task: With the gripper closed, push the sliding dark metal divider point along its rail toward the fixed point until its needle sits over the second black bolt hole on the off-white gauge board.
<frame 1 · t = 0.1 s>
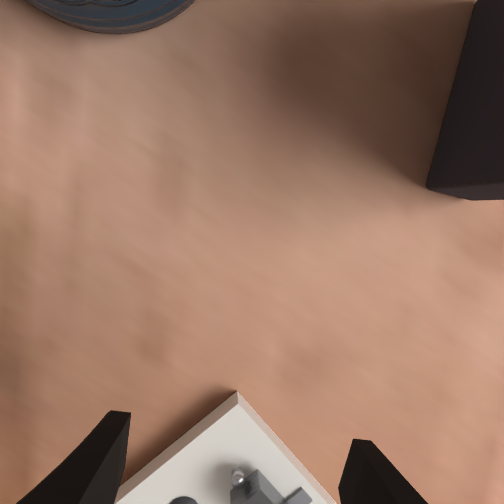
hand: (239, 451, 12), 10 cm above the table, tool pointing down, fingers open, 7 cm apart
calculator: (470, 104, 22), on the table
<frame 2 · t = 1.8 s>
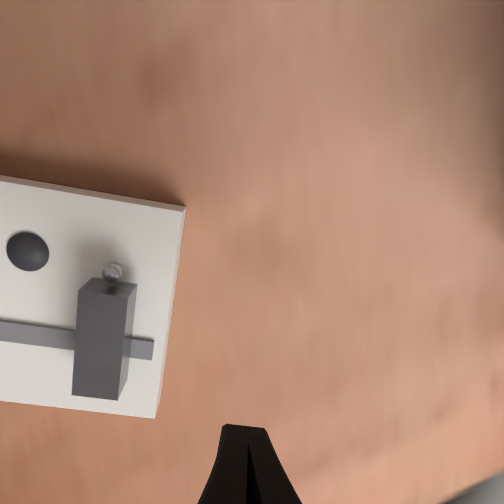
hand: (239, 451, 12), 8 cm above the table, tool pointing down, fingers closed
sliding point: (105, 329, 17), point 3 cm above the table, slide at 4.0 cm
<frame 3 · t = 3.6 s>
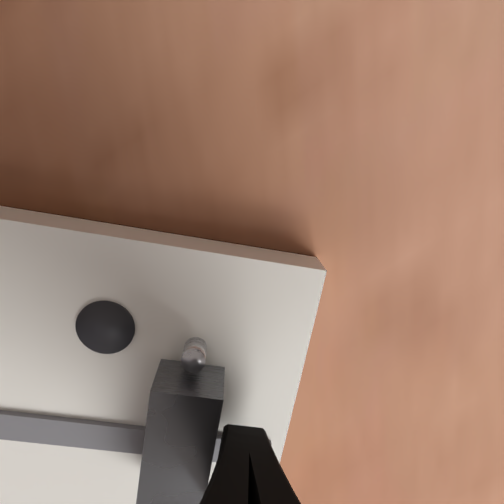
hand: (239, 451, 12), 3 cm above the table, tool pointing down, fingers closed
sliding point: (181, 435, 12), point 3 cm above the table, slide at 2.9 cm, touching gripper
gauge board: (44, 361, 14), on the table
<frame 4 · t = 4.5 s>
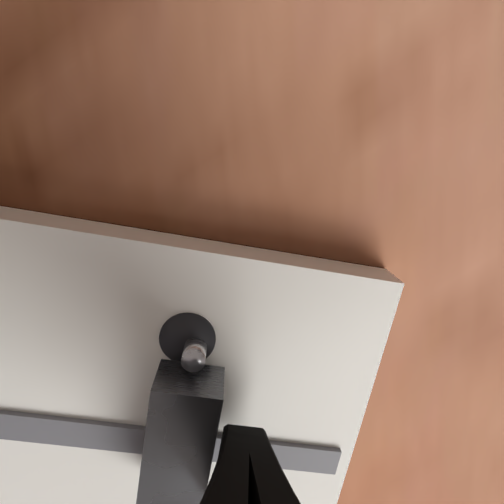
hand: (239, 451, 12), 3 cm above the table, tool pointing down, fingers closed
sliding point: (181, 435, 12), point 3 cm above the table, slide at 0.3 cm, touching gripper
gauge board: (115, 370, 14), on the table
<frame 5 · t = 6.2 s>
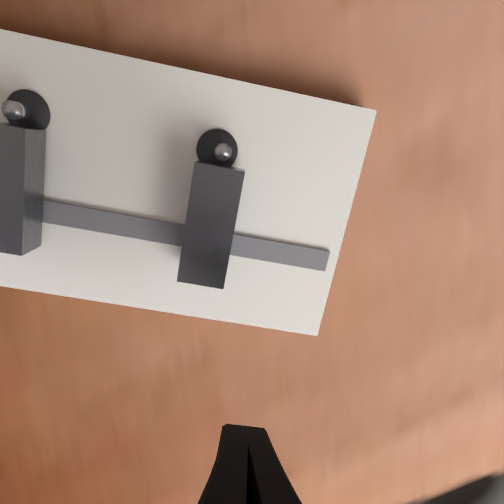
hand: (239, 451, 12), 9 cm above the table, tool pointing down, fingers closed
fixed point: (42, 181, 18), resting on gauge board
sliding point: (212, 214, 16), point 3 cm above the table, slide at 0.3 cm
gauge board: (159, 192, 18), on the table
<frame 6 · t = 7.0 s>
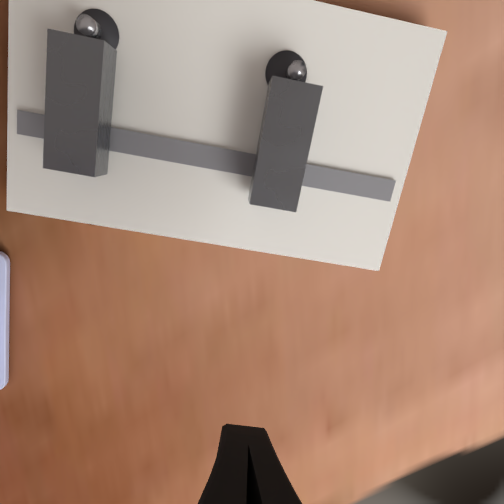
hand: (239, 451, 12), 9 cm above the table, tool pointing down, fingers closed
fixed point: (103, 114, 18), resting on gauge board
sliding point: (284, 136, 16), point 3 cm above the table, slide at 0.3 cm
gauge board: (220, 125, 18), on the table
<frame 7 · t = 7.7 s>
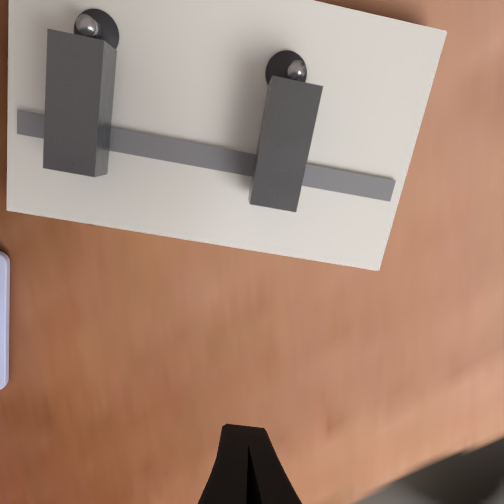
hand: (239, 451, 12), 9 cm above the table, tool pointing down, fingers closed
fixed point: (103, 114, 18), resting on gauge board
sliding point: (284, 136, 16), point 3 cm above the table, slide at 0.3 cm
gauge board: (220, 125, 18), on the table
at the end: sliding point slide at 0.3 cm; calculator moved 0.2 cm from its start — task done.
